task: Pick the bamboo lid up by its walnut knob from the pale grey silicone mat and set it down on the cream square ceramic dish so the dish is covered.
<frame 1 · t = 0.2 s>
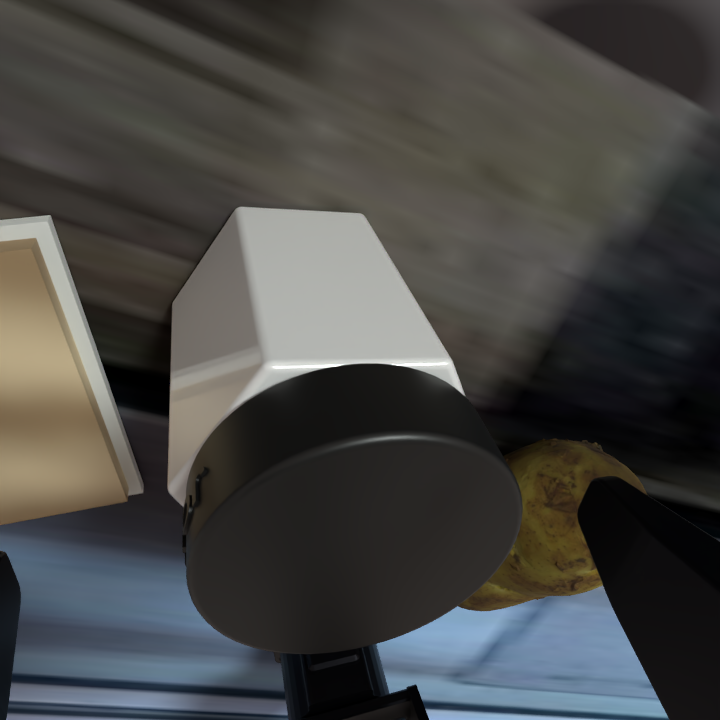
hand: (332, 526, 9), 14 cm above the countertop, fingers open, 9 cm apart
potato: (488, 476, 33), on the countertop
jar: (291, 300, 23), on the countertop
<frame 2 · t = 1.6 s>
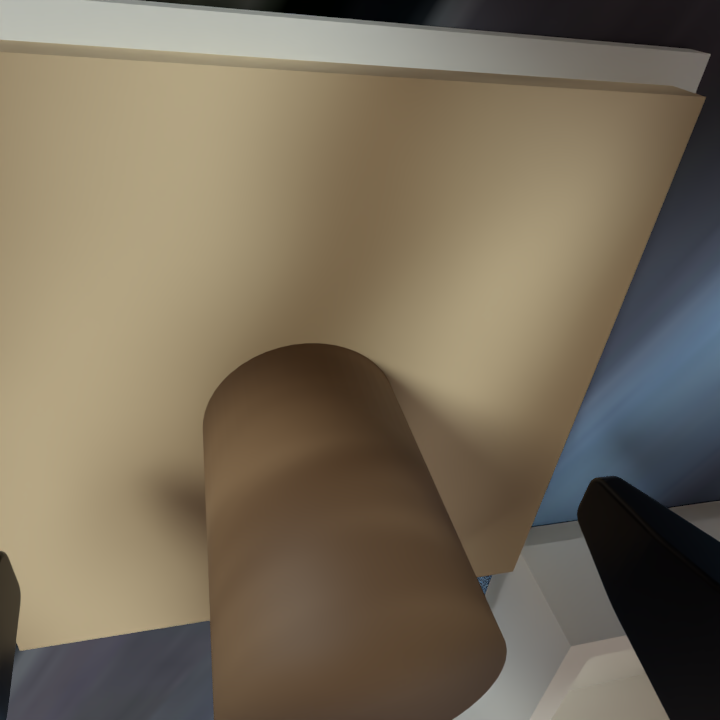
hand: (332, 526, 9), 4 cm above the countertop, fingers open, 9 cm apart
dish: (608, 608, 22), on the countertop
lid: (295, 396, 12), resting on mat
mat: (292, 380, 12), on the countertop
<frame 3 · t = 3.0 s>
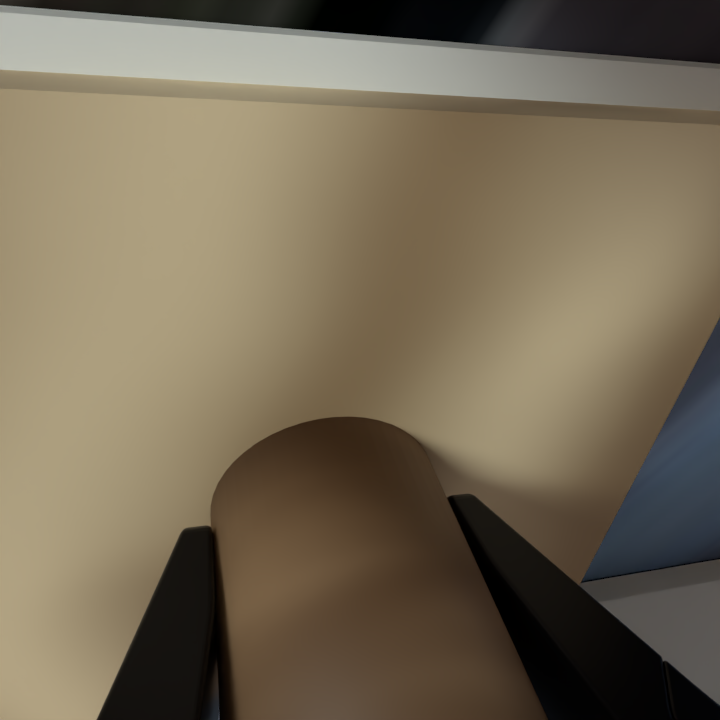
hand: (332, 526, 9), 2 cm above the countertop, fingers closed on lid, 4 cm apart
dish: (643, 660, 20), on the countertop
lid: (316, 465, 10), resting on mat, touching gripper
mat: (311, 445, 11), on the countertop
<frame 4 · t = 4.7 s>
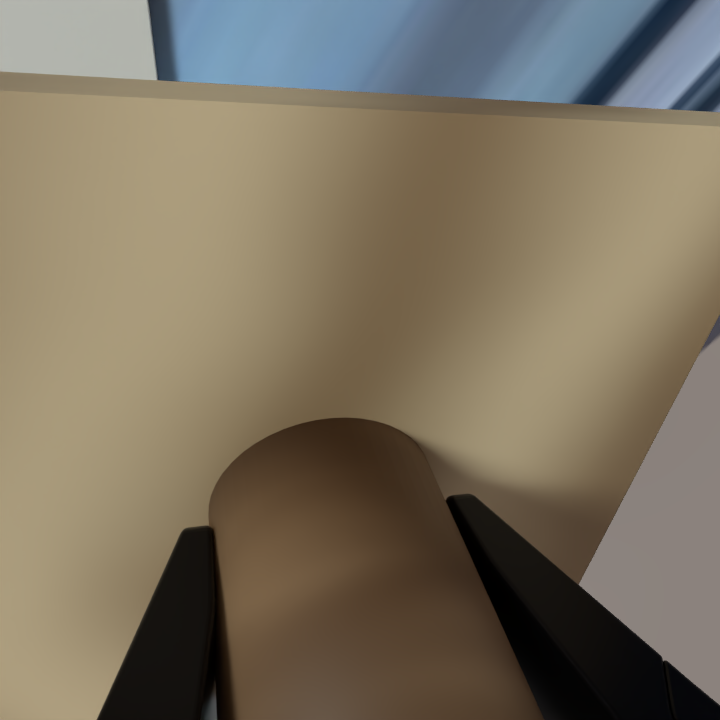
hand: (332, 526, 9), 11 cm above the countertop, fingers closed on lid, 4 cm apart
lid: (315, 466, 10), point 10 cm above the countertop, touching gripper
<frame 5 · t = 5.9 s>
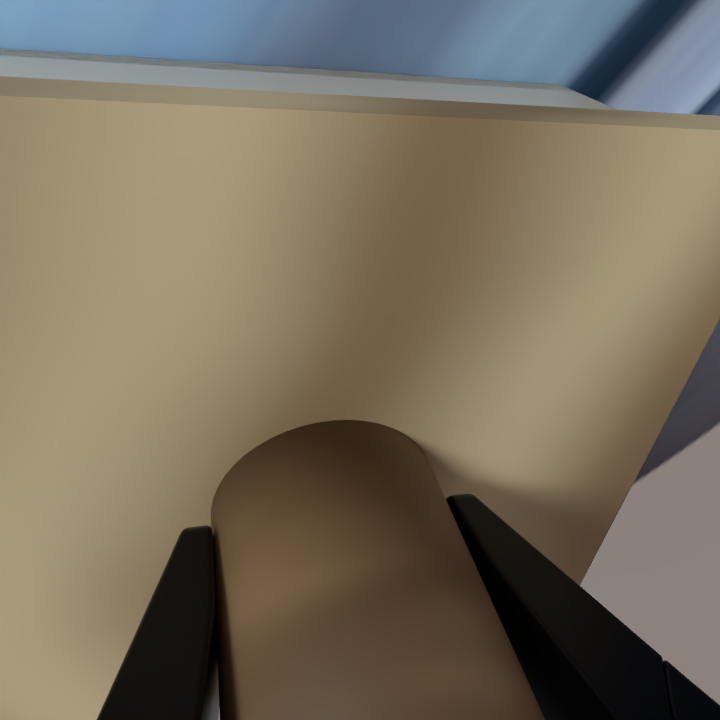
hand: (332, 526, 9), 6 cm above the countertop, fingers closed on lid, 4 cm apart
dish: (281, 327, 14), on the countertop
lid: (316, 468, 10), point 5 cm above the countertop, touching gripper
when the fingers open (6 cm above the countertop, at t = 6.6 s): lid stays where it is, resting on dish.
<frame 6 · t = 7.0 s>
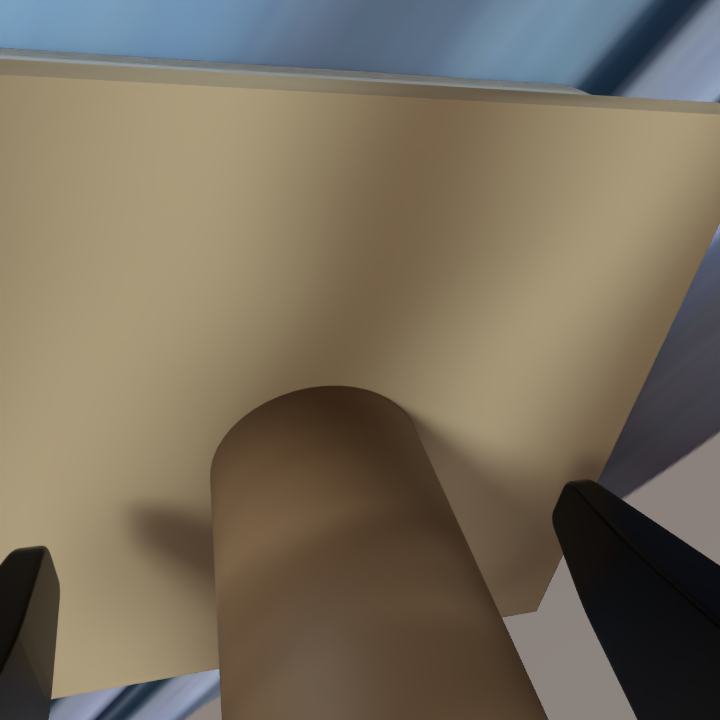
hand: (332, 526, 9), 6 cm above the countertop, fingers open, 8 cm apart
dish: (283, 331, 14), on the countertop
lid: (310, 436, 11), point 3 cm above the countertop, touching dish
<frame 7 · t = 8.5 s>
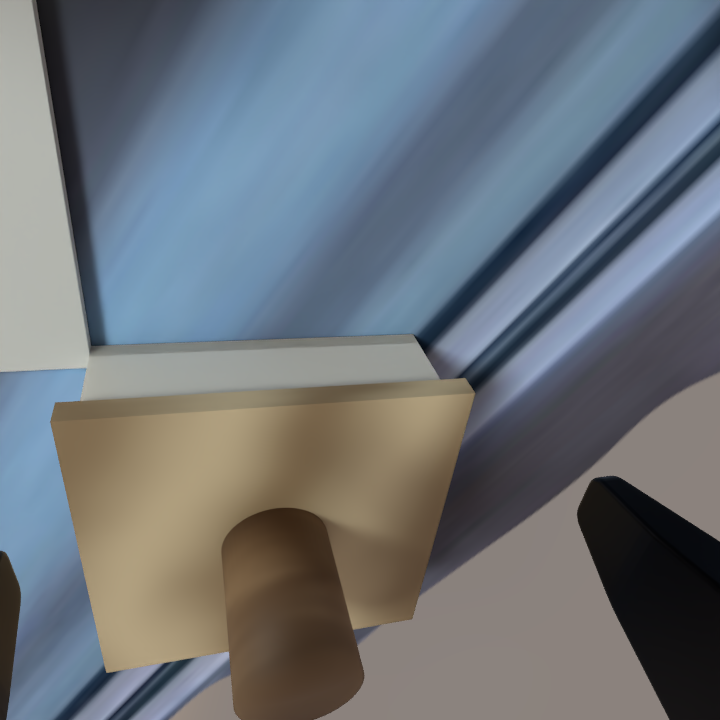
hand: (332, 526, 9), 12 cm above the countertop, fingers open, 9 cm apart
dish: (260, 456, 24), on the countertop
lid: (272, 526, 21), point 3 cm above the countertop, touching dish
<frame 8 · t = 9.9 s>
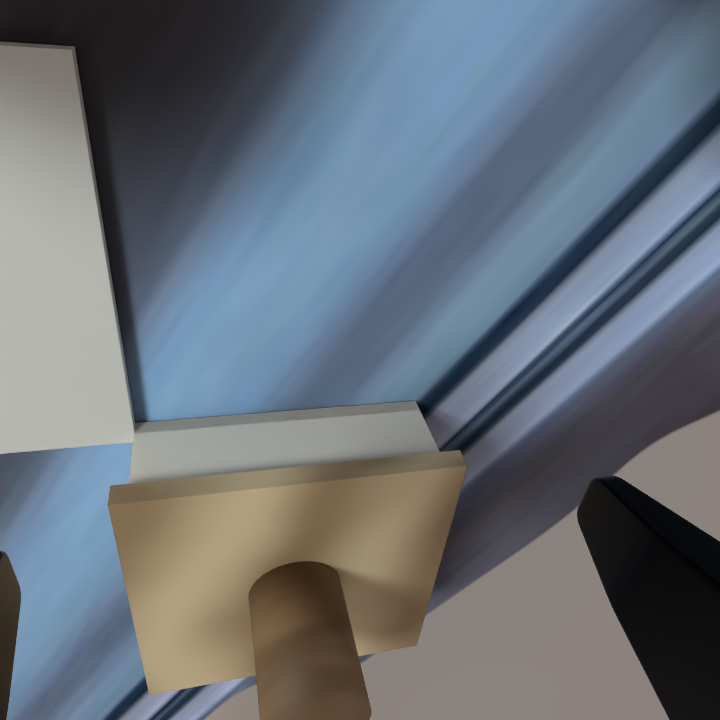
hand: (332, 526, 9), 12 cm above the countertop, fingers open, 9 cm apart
dish: (280, 504, 26), on the countertop
lid: (292, 572, 24), point 3 cm above the countertop, touching dish
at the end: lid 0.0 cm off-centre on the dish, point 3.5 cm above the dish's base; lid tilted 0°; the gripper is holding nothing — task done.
